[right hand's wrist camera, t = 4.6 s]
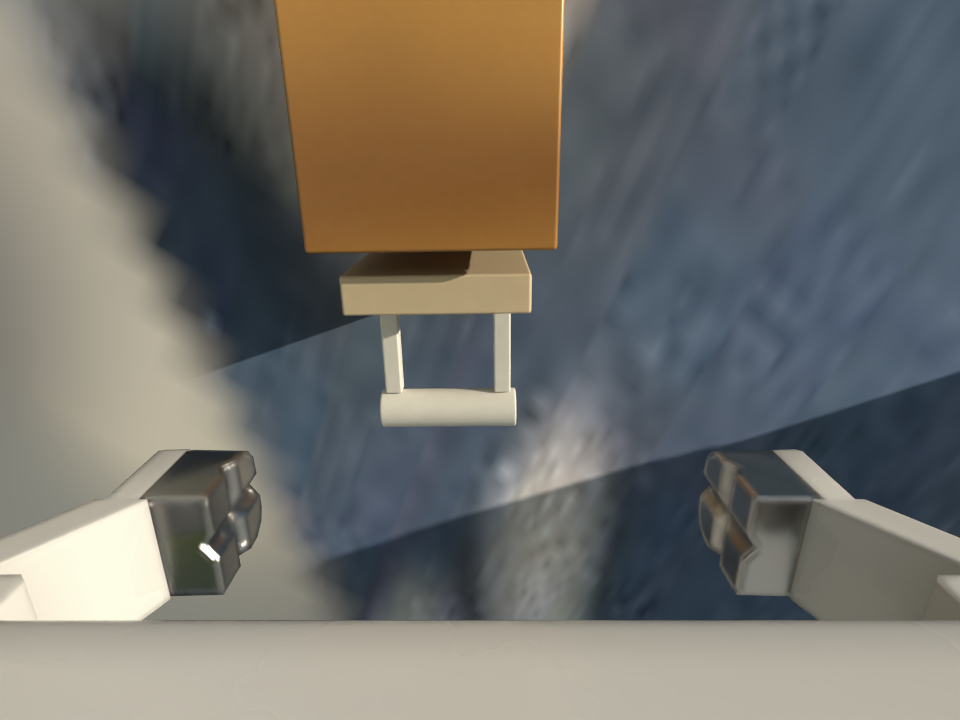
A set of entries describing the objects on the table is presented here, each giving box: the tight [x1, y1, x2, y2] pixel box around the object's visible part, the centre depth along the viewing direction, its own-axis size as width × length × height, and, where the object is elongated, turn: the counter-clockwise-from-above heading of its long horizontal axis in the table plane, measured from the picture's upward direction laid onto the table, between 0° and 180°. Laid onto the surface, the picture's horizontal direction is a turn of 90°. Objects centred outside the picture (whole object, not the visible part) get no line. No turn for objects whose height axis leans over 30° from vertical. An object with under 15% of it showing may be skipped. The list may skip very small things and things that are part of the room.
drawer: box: [339, 250, 532, 427], centre depth 17 cm, size 24×6×7 cm, turn 1°
